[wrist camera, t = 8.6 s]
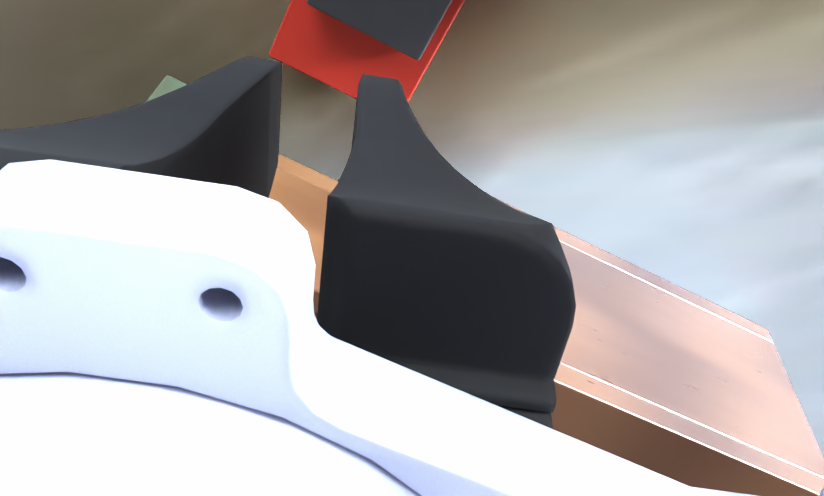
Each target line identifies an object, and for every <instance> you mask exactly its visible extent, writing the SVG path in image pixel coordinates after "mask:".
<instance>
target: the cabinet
mask: <svg viewBox="0 0 824 496" xmlns="http://www.w3.org/2000/svg"><path fill="white" fill-rule="evenodd" d="M495 199H496V198H495ZM497 200H498V199H497ZM499 201H500V200H499ZM501 202H502V201H501ZM503 203H504V202H503ZM505 204H506V203H505ZM507 205H508V204H507ZM508 206H510V205H508ZM510 207H512V206H510ZM512 208H514V209H516V210H519V209H517V208H515V207H512ZM519 211H521V210H519ZM521 212H523V211H521ZM524 213H525V212H524ZM526 214H527V213H526ZM554 229H555V231H556V234H557V236H558V239H559V241H560V244H561V246H562V249H563V251H564V254H565V257H566V259H567V262H568V265H569V268H570V272H571V276H572V280H573V286H574V292H575V301H576V310H575V316H574V322H573V327H572V330H571V333H570V336H569V339H568V341H567V344H566V347H565V350H564V353H563V356H562V359H561V361H560V364H559V367H558V370H557V373H556V376H555V379H554V384H555V392H556V406H555V409H554V412H553V413H551V417H552V425H553V429H554V430H556V431H558V432H561V433H563V434H566V435H568V436H570V437H573V438H575V439H577V440H580V441H582V442H585V443H587V444H589V445H592V446H594V447H597V448H599V449H601V450H604V451H606V452H609V453H611V454H613V455H616V456H618V457H620V458H623V459H625V460H628V461H630V462H632V463H635V464H637V465H640V466H642V467H644V468H647V469H649V470H651V471H654V472H656V473H659V474H661V475H663V476H666V477H668V478H671V479H673V480H675V481H678V482H680V483H683V484H685V485H687V486H690V487H697V488H704V489H712V490H719V491H727V492H734V493H742V494H749V495H757V496H819V494H820V492H821V490H822V489H823V488H824V458H823V456H822V453H821V451H820V449H819V446H818V444H817V442H816V440H815V437H814V435H813V433H812V430H811V428H810V426H809V423H808V421H807V419H806V416H805V414H804V412H803V409H802V407H801V405H800V402H799V400H798V398H797V396H796V393H795V391H794V389H793V386H792V384H791V382H790V379H789V377H788V375H787V372H786V370H785V368H784V365H783V363H782V361H781V359H780V356H779V354H778V352H777V349H776V347H775V345H774V344H773V340H772V338H771V336H770V333H769V331H768V329H766V328H764V327H762V326H760V325H758V324H756V323H754V322H752V321H750V320H748V319H746V318H743V317H741V316H739V315H737V314H735V313H733V312H731V311H729V310H727V309H725V308H723V307H721V306H718V305H716V304H714V303H712V302H710V301H708V300H706V299H704V298H702V297H700V296H698V295H696V294H694V293H691V292H689V291H687V290H685V289H683V288H681V287H679V286H677V285H675V284H673V283H671V282H669V281H666V280H664V279H662V278H660V277H658V276H656V275H654V274H652V273H650V272H648V271H646V270H644V269H641V268H639V267H637V266H635V265H633V264H631V263H629V262H627V261H625V260H623V259H621V258H619V257H617V256H614V255H612V254H610V253H608V252H606V251H604V250H602V249H600V248H598V247H596V246H594V245H592V244H589V243H587V242H585V241H583V240H581V239H579V238H577V237H575V236H573V235H571V234H569V233H567V232H564V231H562V230H560V229H558V228H556V227H554Z"/></svg>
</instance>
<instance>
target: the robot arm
mask: <svg viewBox="0 0 824 496" xmlns="http://www.w3.org/2000/svg"><path fill="white" fill-rule="evenodd" d="M281 82H282V62H280V61H274V60H267V59H261V58H254V57H245V58H242V59H239V60H237V61H235V62H233V63H230V64H228V65H226V66H224V67H222V68H220V69H218V70H216V71H214V72H212V73H210V74H208V75H206V76H204V77H202V78H200V79H198V80H196V81H194V82H192V83H190V84H188V85H186V86H183V87H181V88H179V89H176V90H174V91H171V92H169V93H167V94H164V95H162V96H159V97H157V98H155V99H152V100H150V101H147V102H144V103H141V104H139V105H135V106H132V107H129V108H126V109H123V110H119V111H115V112H112V113H108V114H105V115H101V116H96V117H91V118H86V119H81V120H75V121H70V122H65V123H59V124H54V125H47V126H39V127H30V128H21V129H8V130H0V496H757V495H749V494H742V493H734V492H727V491H719V490H712V489H704V488H697V487H690V486H687V485H685V484H683V483H680V482H678V481H675V480H673V479H671V478H668V477H666V476H663V475H661V474H659V473H656V472H654V471H651V470H649V469H647V468H644V467H642V466H640V465H637V464H635V463H632V462H630V461H628V460H625V459H623V458H620V457H618V456H616V455H613V454H611V453H609V452H606V451H604V450H601V449H599V448H597V447H594V446H592V445H589V444H587V443H585V442H582V441H580V440H577V439H575V438H573V437H570V436H568V435H566V434H563V433H561V432H558V431H556V430H554V429H553V425H552V417H551V413H553V412H554V409H555V406H556V392H555V384H554V379H555V376H556V373H557V370H558V367H559V364H560V361H561V359H562V356H563V353H564V350H565V347H566V344H567V341H568V339H569V336H570V333H571V330H572V327H573V322H574V316H575V310H576V301H575V292H574V286H573V280H572V276H571V272H570V268H569V265H568V262H567V259H566V257H565V254H564V251H563V249H562V246H561V244H560V241H559V239H558V236H557V234H556V231H555V229H554V226H553V225H552V223H549V222H546V221H544V220H541V219H539V218H536V217H534V216H531V215H529V214H526V213H524V212H521V211H519V210H516V209H514V208H512V207H510V206H508V205H507V204H505V203H503V202H501V201H499V200H497V199H495V198H494V197H492V196H490V195H489V194H487V193H486V192H484V191H482V190H481V189H479V188H478V187H477V186H475V185H474V184H473V183H471V182H470V181H469V180H467V179H466V178H465V177H463V176H462V175H461V174H460V173H459V172H458V171H456V170H455V169H454V168H453V167H452V166H451V165H450V164H449V163H448V162H447V161H446V160H445V159H444V158H443V157H442V156H441V155H440V154H439V152H438V151H437V150H436V149H435V148H434V146H433V145H432V143H431V142H430V141H429V139H428V138H427V136H426V135H425V133H424V132H423V130H422V128H421V127H420V125H419V123H418V121H417V120H416V118H415V116H414V114H413V112H412V110H411V108H410V106H409V104H408V101H407V99H406V96H405V94H404V90H403V86H402V85H401V83H400V82H399V80H398V79H393V78H386V77H379V76H373V75H366V74H363V75H362V77H361V79H360V81H359V84H358V93H357V102H356V112H355V122H354V131H353V141H352V150H351V154H350V156H349V159H348V162H347V164H346V167H345V169H344V172H343V174H342V176H341V178H340V180H339V182H338V184H337V185H336V187H335V188H334V189H333V191H332V192H331V193H330V194H329V195H328V197H327V209H326V220H325V232H324V244H323V255H322V267H321V278H320V290H319V301H318V313H317V320H316V317H315V315H314V305H313V294H314V282H315V269H316V264H315V260H314V256H313V252H312V248H311V244H310V239H309V235H308V231H307V230H306V229H305V228H304V227H303V226H302V225H301V224H300V223H299V222H298V221H297V220H296V219H295V218H294V217H293V216H292V215H291V214H290V213H289V212H288V211H287V210H286V209H285V208H284V207H283V206H282V205H281V204H280V203H279V202H277V201H274V200H272V199H269V195H270V191H271V188H272V184H273V181H274V177H275V173H276V169H277V166H278V155H279V131H280V106H281ZM819 496H824V488H823V489H822V490H821V492H820V494H819Z"/></svg>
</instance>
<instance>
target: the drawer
mask: <svg viewBox="0 0 824 496" xmlns="http://www.w3.org/2000/svg"><path fill="white" fill-rule="evenodd" d="M186 85H187V84H185V83H183V82H181V81H179V80H177V79H175V78H173V77H170V76H168V75H167V76H166V77H165V78H164V79H163V80H162V82H161V83H160V84H159V86H158V87H157V88H156V89H155V91H154V92H153V93H152V94H151V96H150V97H149V98H148V99H147V101H150V100H152V99H155V98H157V97H159V96H162V95H164V94H167V93H169V92H171V91H174V90H176V89H179V88H181V87H183V86H186ZM147 101H146V102H147ZM338 182H339V181H336V180H334V179H332V178H330V177H328V176H326V175H323V174H321V173H319V172H317V171H315V170H313V169H310V168H308V167H306V166H304V165H302V164H300V163H298V162H295V161H293V160H291V159H289V158H287V157H285V156H282V155H280V154H279V155H278V166H277V169H276V173H275V177H274V181H273V184H272V188H271V191H270V195H269V199H272V200H274V201H277V202H279V203H280V204H281V205H282V206H283V207H284V208H285V209H286V210H287V211H288V212H289V213H290V214H291V215H292V216H293V217H294V218H295V219H296V220H297V221H298V222H299V223H300V224H301V225H302V226H303V227H304V228H305V229H306V230H307V231H308V235H309V239H310V244H311V248H312V252H313V256H314V260H315V264H316V269H315V282H314V294H313V305H314V315H315V317H316V320H317V313H318V301H319V290H320V278H321V267H322V255H323V244H324V232H325V220H326V209H327V197H328V195H329V194H330V193H331V192H332V191H333V189H334V188H335V187H336V185H337V184H338Z"/></svg>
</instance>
